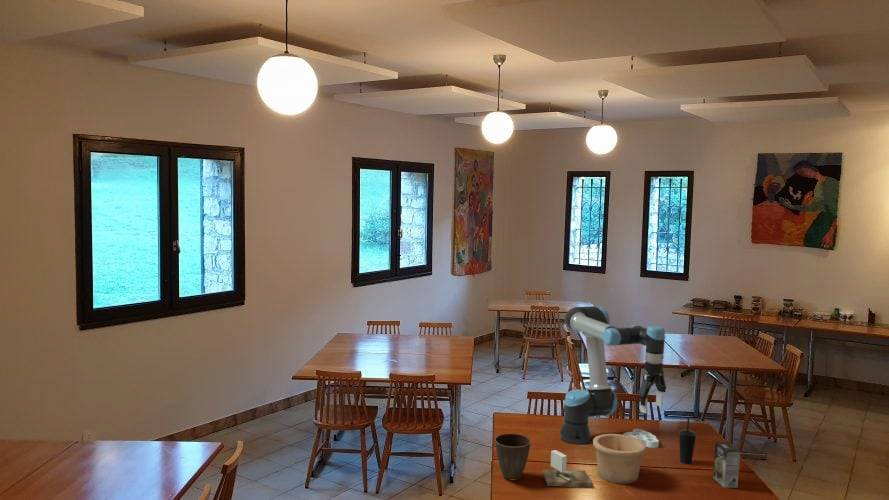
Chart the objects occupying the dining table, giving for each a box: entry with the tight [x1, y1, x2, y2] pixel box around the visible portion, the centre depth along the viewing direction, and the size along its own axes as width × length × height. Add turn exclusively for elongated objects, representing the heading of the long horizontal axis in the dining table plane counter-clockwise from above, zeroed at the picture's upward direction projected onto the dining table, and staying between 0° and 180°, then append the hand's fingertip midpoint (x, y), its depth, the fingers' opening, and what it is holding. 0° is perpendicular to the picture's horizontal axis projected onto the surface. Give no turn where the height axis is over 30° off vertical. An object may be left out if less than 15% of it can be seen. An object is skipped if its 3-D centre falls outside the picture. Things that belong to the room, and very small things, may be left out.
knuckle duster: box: [622, 428, 660, 449], centre depth 318 cm, size 3×18×15 cm
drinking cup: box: [678, 418, 697, 465], centre depth 293 cm, size 8×8×20 cm
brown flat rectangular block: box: [542, 469, 592, 489], centre depth 271 cm, size 18×12×2 cm, turn 91°
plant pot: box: [494, 433, 532, 481], centre depth 273 cm, size 15×15×16 cm
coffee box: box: [713, 441, 741, 489], centre depth 272 cm, size 9×6×16 cm
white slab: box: [550, 449, 570, 481], centre depth 269 cm, size 2×11×9 cm, turn 31°
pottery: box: [592, 433, 647, 485], centre depth 277 cm, size 22×22×14 cm
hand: (651, 409), depth 286 cm, fingers open, 13 cm apart
